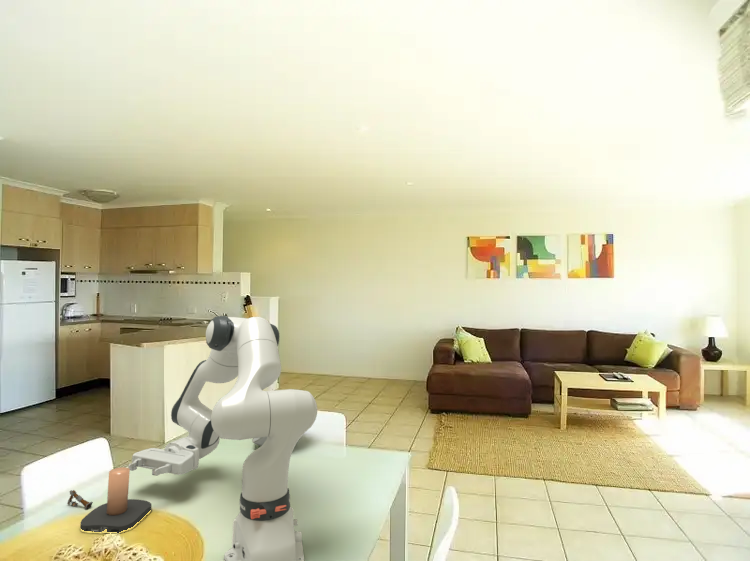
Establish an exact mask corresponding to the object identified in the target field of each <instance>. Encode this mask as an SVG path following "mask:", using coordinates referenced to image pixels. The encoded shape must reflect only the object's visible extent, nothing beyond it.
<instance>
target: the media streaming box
mask: <svg viewBox="0 0 750 561" xmlns="http://www.w3.org/2000/svg"><path fill="white" fill-rule="evenodd" d="M150 510H151V511H152V503H151V502H150V501H147V500H144V499H137V498H136V499H135V498H131V499H130V498H128V505H127V510H126V511H125V512H124V513H122V514H119V515H108V514H107V502H106V503H103V504H100V505H99V506H97V507H95V508H94V509H92V510H91V511H90V512H89V513H87V514H86V515H85V516H84V517H83V518H82V519H81V520H80V523H79V524H80V528H81V529H82V530H84V531H94V532H102V531H104V530H105V529H107V532H117V533H119V532H121V531H123V530H127V529H128V528H131V527H133V526H134V525H135V524H136V523H137V522H139V521H140V520H141V519H142V518H143V517H144V516H145V515H146V514H147V513H148V512H149V511H150Z"/></svg>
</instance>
